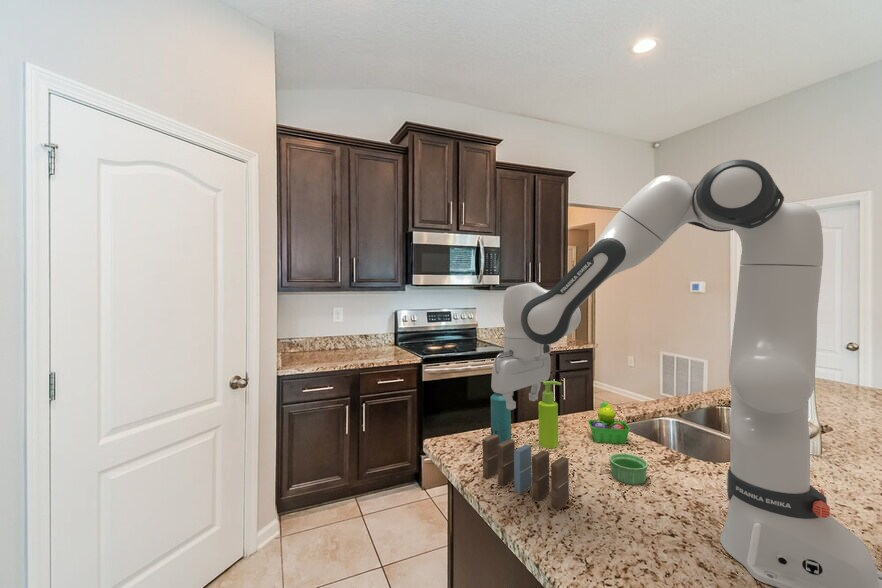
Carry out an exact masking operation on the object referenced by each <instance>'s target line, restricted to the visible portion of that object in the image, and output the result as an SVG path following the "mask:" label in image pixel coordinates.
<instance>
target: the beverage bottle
mask: <svg viewBox="0 0 882 588" xmlns="http://www.w3.org/2000/svg"><path fill="white" fill-rule="evenodd" d="M511 411H512V410H509V409H507V408H506V401H505V399H504V397H503V394H500V393H496V392H494V393H493V394H491V396H490V436H491V435H493V434H496V435H499V444H500V443H502V442H504V441H506V440H508V439H511V440H512V418H511V416H512V415H511V414H512V413H511Z"/></svg>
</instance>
